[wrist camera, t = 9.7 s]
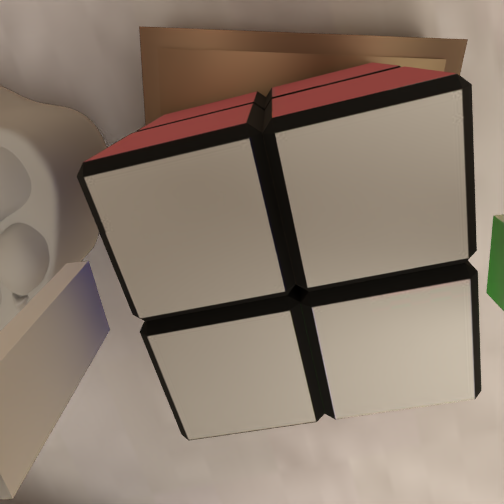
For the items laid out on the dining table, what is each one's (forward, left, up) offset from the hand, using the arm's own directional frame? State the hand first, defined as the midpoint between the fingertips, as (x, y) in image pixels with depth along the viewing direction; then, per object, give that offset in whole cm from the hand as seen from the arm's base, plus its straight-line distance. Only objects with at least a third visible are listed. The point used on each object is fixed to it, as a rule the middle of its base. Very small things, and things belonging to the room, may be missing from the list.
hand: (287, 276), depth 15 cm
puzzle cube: (0, 0, -8) cm, 8 cm away
